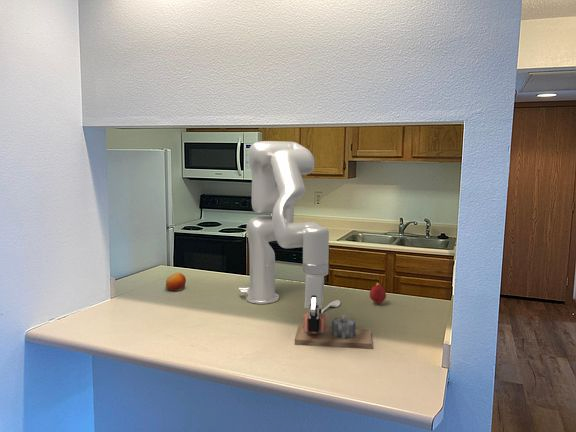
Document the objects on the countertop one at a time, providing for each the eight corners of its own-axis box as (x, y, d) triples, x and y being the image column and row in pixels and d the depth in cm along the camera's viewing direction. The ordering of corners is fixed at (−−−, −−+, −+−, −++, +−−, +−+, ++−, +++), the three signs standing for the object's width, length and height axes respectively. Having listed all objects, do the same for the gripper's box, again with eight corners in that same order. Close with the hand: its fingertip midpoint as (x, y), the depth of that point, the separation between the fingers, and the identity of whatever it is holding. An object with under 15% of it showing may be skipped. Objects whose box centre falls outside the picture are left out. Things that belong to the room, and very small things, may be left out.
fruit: (188, 289, 179) (177, 272, 178) (171, 299, 180) (160, 282, 179) (192, 283, 187) (182, 267, 186) (176, 292, 188) (166, 276, 187)
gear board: (294, 344, 131) (294, 319, 130) (298, 329, 141) (298, 306, 140) (371, 348, 128) (372, 323, 127) (370, 333, 138) (370, 310, 137)
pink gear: (302, 332, 132) (302, 319, 131) (304, 323, 139) (304, 311, 138) (325, 333, 131) (325, 320, 131) (327, 324, 138) (327, 312, 137)
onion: (384, 301, 168) (385, 281, 167) (386, 307, 163) (387, 285, 162) (368, 301, 169) (369, 280, 168) (370, 306, 163) (370, 285, 162)
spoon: (343, 305, 166) (343, 300, 166) (314, 322, 149) (314, 317, 149) (333, 303, 168) (333, 298, 168) (303, 319, 151) (303, 315, 151)
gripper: (305, 261, 141) (305, 315, 144) (299, 275, 124) (299, 337, 127) (329, 261, 140) (328, 316, 143) (326, 276, 123) (325, 339, 126)
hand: (314, 326), depth 135 cm, fingers closed on pink gear, 7 cm apart
